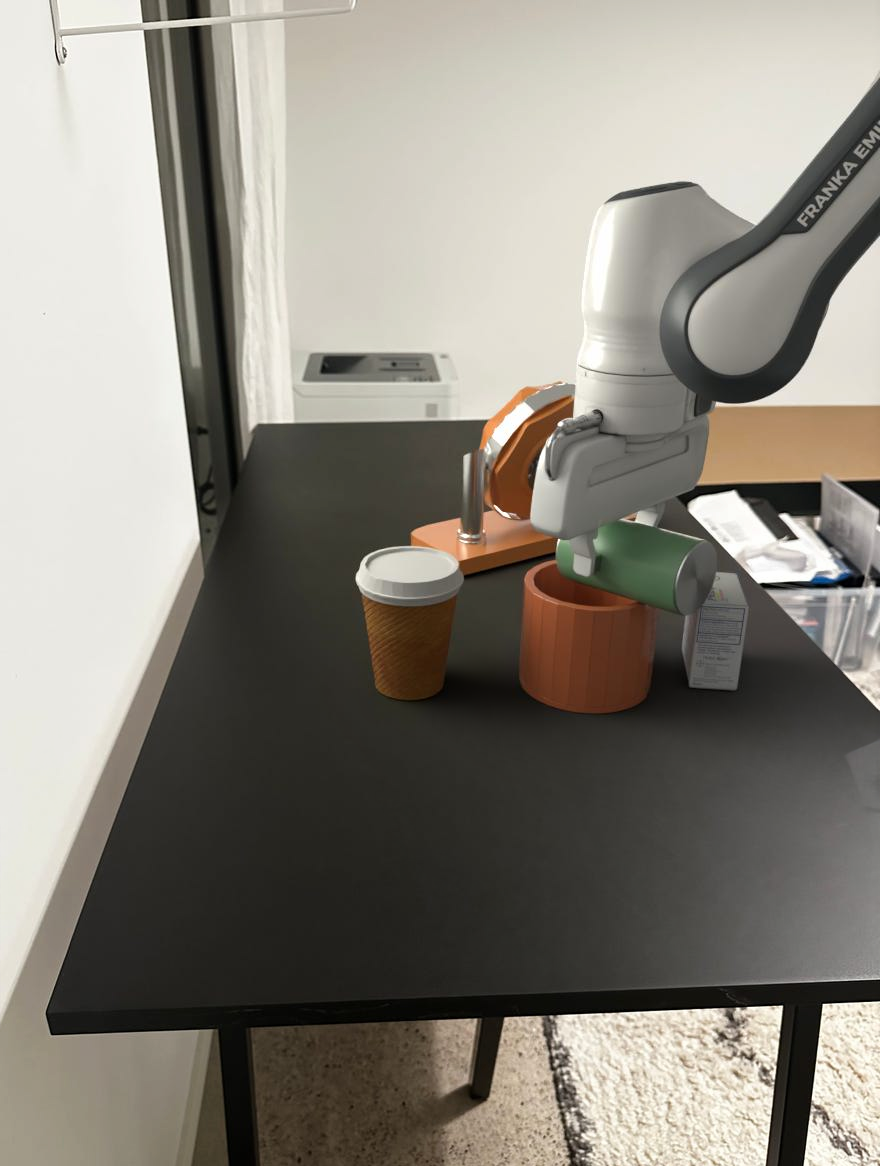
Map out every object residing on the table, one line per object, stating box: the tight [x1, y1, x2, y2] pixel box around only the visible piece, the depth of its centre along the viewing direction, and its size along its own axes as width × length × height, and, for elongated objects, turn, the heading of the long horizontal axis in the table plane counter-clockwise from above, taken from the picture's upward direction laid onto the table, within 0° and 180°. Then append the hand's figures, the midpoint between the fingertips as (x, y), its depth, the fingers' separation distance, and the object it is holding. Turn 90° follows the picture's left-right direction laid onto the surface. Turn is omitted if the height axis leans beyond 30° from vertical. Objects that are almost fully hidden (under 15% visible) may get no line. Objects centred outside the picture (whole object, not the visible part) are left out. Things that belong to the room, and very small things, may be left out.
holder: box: [518, 559, 660, 714], centre depth 95 cm, size 12×12×10 cm
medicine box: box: [681, 571, 750, 692], centre depth 97 cm, size 8×4×9 cm, turn 171°
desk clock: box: [410, 381, 638, 576], centre depth 126 cm, size 12×30×20 cm, turn 123°
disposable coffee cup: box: [355, 545, 465, 701], centre depth 94 cm, size 10×10×12 cm
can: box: [555, 519, 718, 617], centre depth 88 cm, size 12×6×6 cm, turn 45°
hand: (613, 560), depth 90 cm, fingers closed on can, 6 cm apart
